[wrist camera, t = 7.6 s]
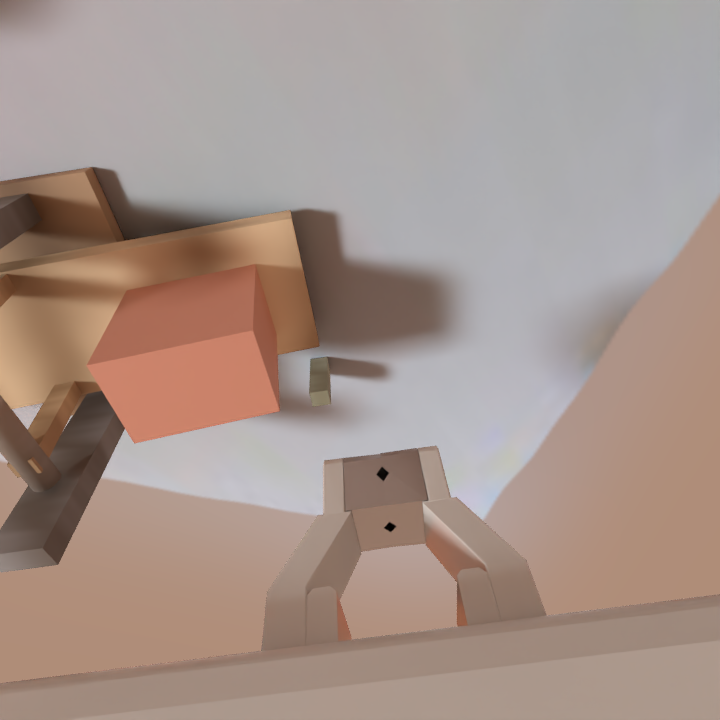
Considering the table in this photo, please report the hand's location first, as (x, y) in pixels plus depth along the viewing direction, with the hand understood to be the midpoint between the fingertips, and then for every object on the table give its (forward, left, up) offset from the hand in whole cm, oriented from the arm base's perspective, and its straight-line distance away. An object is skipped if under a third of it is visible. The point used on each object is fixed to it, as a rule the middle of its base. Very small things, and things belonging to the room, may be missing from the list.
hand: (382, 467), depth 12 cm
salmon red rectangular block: (+1, -8, -12) cm, 14 cm away
